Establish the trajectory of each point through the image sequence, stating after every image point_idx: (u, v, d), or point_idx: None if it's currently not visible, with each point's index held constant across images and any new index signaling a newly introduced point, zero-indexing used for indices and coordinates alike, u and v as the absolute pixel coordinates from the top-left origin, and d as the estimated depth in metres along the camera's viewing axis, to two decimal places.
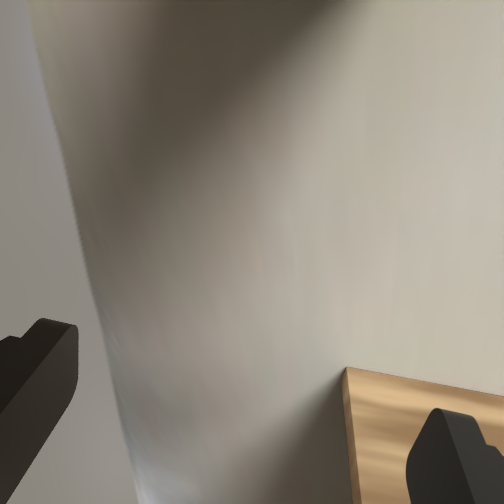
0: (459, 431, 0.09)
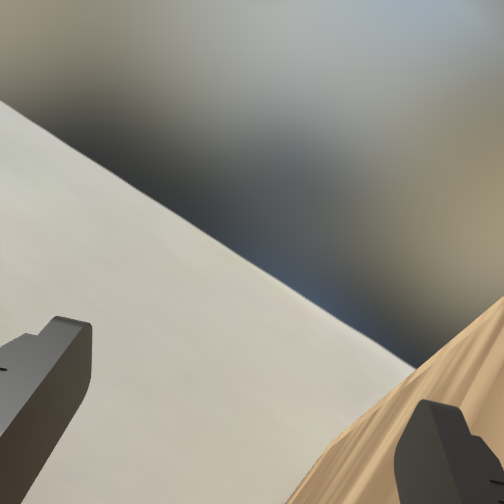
0: (444, 421, 0.09)
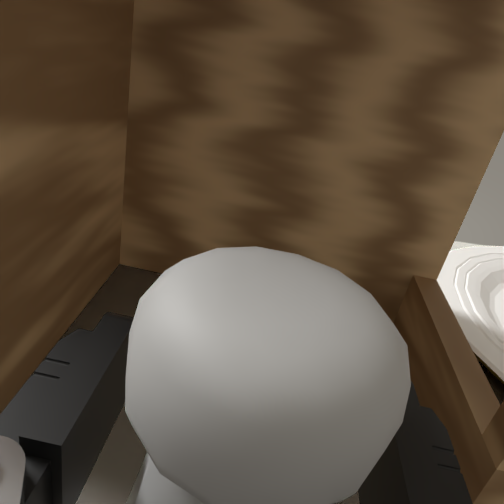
0: None
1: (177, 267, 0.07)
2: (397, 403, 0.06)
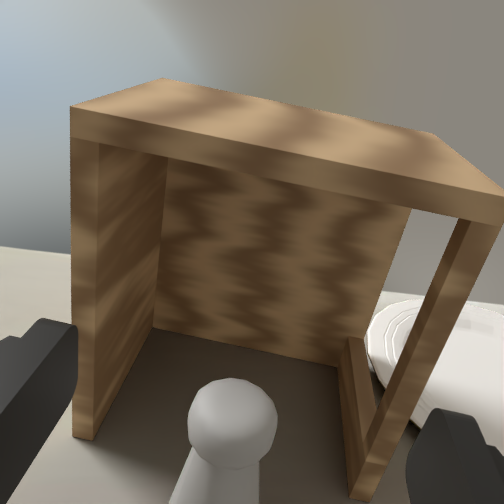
0: (459, 431, 0.09)
1: (203, 391, 0.21)
2: (267, 436, 0.20)
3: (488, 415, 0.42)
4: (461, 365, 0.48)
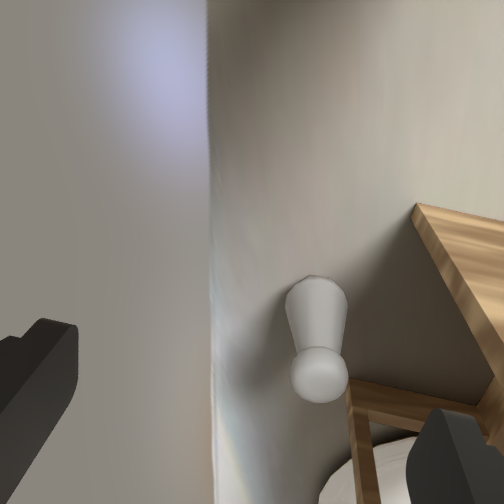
0: (459, 431, 0.09)
1: (329, 369, 0.31)
2: None
3: (406, 486, 0.54)
4: None
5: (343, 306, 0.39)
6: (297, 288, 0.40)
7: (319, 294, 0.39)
